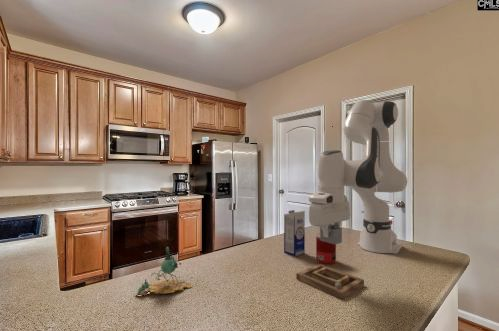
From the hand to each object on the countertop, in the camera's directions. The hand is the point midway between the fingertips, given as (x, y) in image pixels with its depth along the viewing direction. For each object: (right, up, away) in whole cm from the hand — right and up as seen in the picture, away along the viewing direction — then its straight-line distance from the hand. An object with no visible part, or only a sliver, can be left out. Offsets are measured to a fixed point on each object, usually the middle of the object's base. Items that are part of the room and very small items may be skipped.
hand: (331, 235), depth 87 cm
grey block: (0, -2, 0) cm, 2 cm away
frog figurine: (-56, -16, -6) cm, 59 cm away
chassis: (0, -16, 0) cm, 16 cm away
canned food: (+4, -17, +19) cm, 25 cm away
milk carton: (-8, -17, +29) cm, 34 cm away
